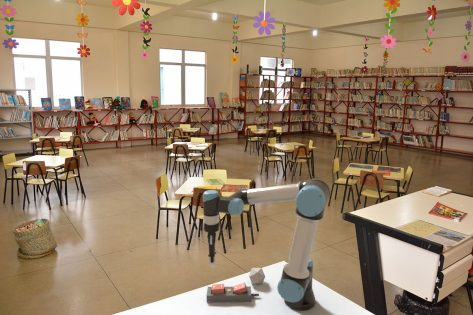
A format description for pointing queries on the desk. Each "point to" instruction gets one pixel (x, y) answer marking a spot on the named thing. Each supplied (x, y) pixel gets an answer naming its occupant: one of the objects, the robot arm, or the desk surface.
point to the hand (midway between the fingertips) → (212, 267)
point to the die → (256, 276)
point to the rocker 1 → (217, 288)
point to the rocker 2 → (240, 288)
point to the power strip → (230, 295)
